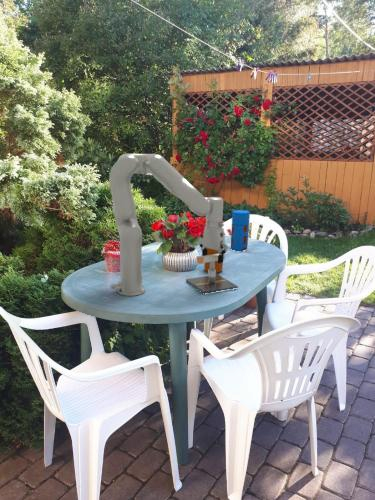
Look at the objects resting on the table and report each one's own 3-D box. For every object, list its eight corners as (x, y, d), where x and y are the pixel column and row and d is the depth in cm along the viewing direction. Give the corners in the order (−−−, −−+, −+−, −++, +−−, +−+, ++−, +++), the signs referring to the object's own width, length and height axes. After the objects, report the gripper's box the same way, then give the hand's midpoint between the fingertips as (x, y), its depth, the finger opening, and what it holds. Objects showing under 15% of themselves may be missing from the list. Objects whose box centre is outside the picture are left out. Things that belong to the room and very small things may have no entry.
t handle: (224, 267, 178) (225, 254, 176) (199, 271, 171) (199, 257, 169) (221, 266, 180) (222, 252, 178) (196, 270, 173) (196, 256, 171)
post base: (203, 294, 166) (204, 278, 164) (186, 281, 182) (186, 266, 180) (237, 289, 174) (238, 273, 172) (217, 277, 189) (218, 262, 187)
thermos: (227, 248, 245) (229, 210, 238) (241, 247, 249) (243, 209, 242) (236, 252, 235) (238, 213, 228) (250, 251, 240) (253, 212, 233)
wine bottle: (223, 269, 203) (226, 214, 195) (220, 274, 194) (223, 217, 186) (206, 267, 205) (208, 213, 197) (202, 272, 196) (204, 216, 188)
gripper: (234, 226, 167) (232, 263, 171) (205, 220, 178) (203, 255, 183) (223, 228, 162) (221, 266, 166) (194, 222, 173) (193, 258, 178)
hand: (212, 260), depth 174 cm, fingers open, 9 cm apart
